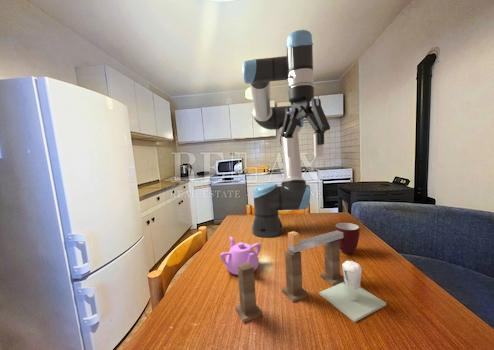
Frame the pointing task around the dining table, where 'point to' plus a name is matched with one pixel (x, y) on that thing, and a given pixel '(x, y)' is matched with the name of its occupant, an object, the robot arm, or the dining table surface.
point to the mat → (352, 302)
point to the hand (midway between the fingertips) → (303, 157)
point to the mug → (348, 237)
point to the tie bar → (311, 240)
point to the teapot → (240, 256)
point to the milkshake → (351, 279)
